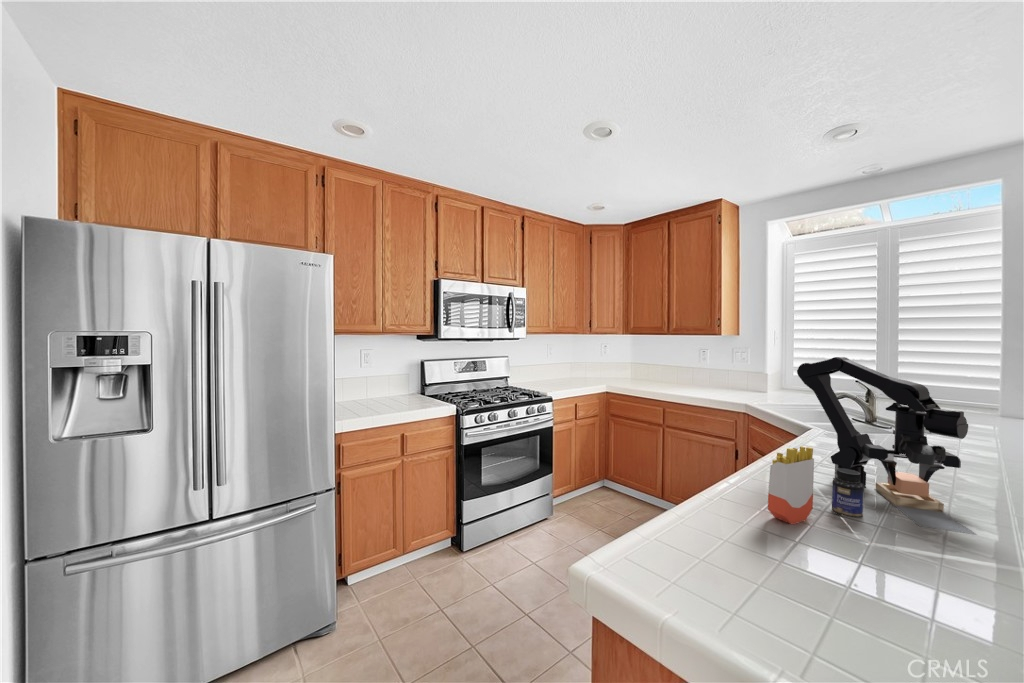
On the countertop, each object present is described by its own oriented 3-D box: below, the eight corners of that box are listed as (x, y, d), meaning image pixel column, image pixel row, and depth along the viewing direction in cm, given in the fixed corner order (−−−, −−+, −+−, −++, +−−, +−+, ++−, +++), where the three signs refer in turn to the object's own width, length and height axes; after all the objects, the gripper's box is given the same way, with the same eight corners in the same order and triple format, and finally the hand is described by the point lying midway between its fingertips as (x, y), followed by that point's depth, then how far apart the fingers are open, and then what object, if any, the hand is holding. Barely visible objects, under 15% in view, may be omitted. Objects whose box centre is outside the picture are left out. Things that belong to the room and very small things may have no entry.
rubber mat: (918, 528, 95) (918, 525, 95) (873, 490, 118) (873, 488, 118) (977, 537, 91) (977, 534, 91) (918, 496, 114) (918, 494, 114)
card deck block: (887, 483, 115) (888, 471, 115) (912, 486, 113) (913, 474, 113) (901, 493, 107) (901, 480, 107) (928, 497, 105) (929, 483, 105)
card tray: (895, 505, 106) (895, 497, 106) (875, 489, 117) (875, 482, 117) (943, 512, 103) (943, 503, 103) (918, 494, 114) (918, 487, 114)
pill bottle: (834, 516, 101) (835, 472, 101) (828, 507, 106) (830, 465, 106) (866, 522, 98) (867, 477, 98) (859, 512, 103) (860, 469, 103)
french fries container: (765, 518, 99) (767, 445, 99) (793, 510, 104) (795, 441, 103) (785, 526, 95) (787, 450, 95) (812, 518, 100) (814, 446, 99)
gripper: (878, 432, 106) (876, 491, 106) (976, 441, 99) (973, 504, 99) (861, 423, 116) (859, 477, 117) (948, 431, 109) (946, 488, 109)
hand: (907, 486), depth 110 cm, fingers closed on card deck block, 5 cm apart
